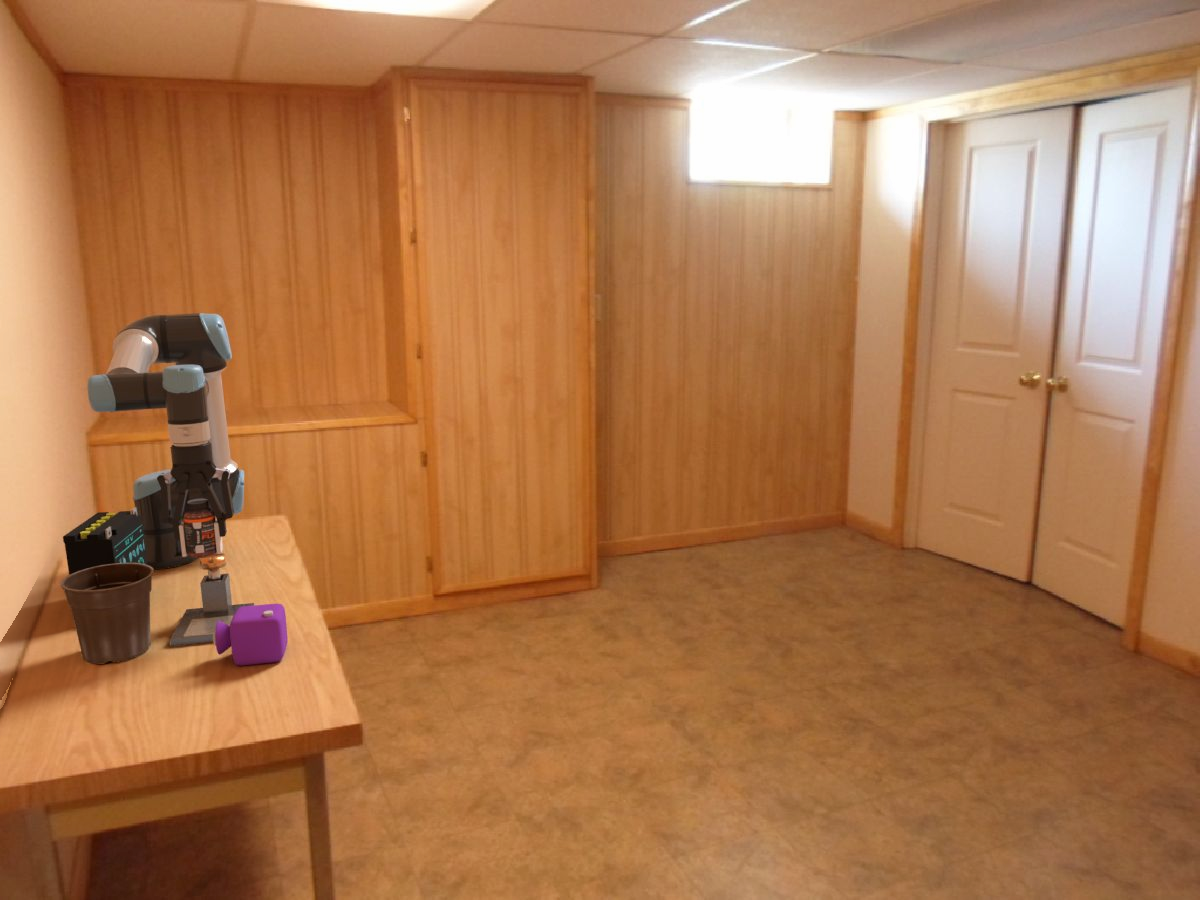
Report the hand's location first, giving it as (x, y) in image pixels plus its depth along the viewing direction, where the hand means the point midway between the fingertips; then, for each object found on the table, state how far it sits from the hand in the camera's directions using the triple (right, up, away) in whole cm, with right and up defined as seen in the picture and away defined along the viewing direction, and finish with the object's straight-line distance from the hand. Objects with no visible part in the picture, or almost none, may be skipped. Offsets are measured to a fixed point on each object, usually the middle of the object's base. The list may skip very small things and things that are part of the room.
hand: (202, 552), depth 188 cm
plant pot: (-15, -19, -5) cm, 25 cm away
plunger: (-2, -9, +11) cm, 14 cm away
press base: (0, -17, +7) cm, 18 cm away
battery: (-30, -14, +22) cm, 40 cm away
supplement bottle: (0, 0, 0) cm, 1 cm away
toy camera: (+14, -20, -8) cm, 25 cm away
